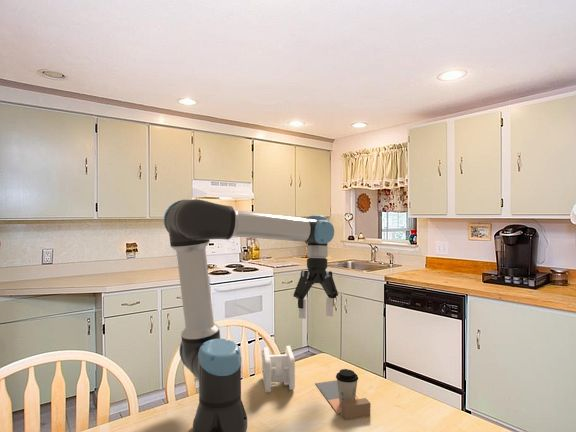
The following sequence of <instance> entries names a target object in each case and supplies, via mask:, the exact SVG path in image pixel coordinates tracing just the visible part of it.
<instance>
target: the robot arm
mask: <svg viewBox="0 0 576 432" xmlns="http://www.w3.org/2000/svg"><path fill="white" fill-rule="evenodd" d="M163 225H164V228H165V230H166V231H167V233H168V235H169V244H170V248H172V249H173V250H174V251H175V252H176V258H177V267H178V268H177V269H178V274H179V275H178V276H179V283H180V293H181V300H182V310H183V316H184V318H183V319H184V326H185V327H184V328H183V330H182V331H181V333H180V335H181V336H180V337H181V341H180V344H179V357H180V359H181V360H180V361H181V363H182V364H183V365H184V367H186V369H187V370H189V371H190V372H191V374H192V375H193V376H194V377H195V378H196V379H197V381H198V405H197V409H196V412H195V415H194V419H193V422H192V432H246V431H247V428H248V416H247V412H246V409H245V406H244V404H243V401H242V355H241V354H242V353H241V348H240V346H239V345H238V344H237V343H236V342H235V341H233V340H230V339H225V338H221V333H220V332H221V331H220V325H218V324H217V323H215V322H214V316H213V315H214V313H213V307H212V306H213V305H212V296H211V286H210V279H209V278H210V276H209V269H208V267H209V266H208V261H207V251H206V248H207V246H208V245H209V244H210V241H211V240H228V241H229V240H231V239H233V238H234V237H237V238H250V239H263V240H276V241H291V242H304V243H306V244H307V245H306V246H307V251H306V253H307V254H306V257H308V258H307V259H306V268H307V270H300V277H299V280H298V282H297V284H296V288H295V289H294V293H293V297H294V298H296V299H297V309H298V319H299V318H300V319H306V318H307V317H306V316H307V315H306V314H307V313H306V312H307V309H306V308H307V299H306V297H307V294H308V292H309V291H310V290H311V288H312V286H313V285H315V284H319V285H321V287H322V288H323V290H324V293H325V294H326V295H327V297H326V299H325V300H326V303H325V304H326V305H325V306H326V307H325V308H326V310H325V311H326V312H325V316H327V317H333V316H334V306H335V305H334V304H335V299H336V298H337V297H338V296H339V292H338V289H337V286H336V283H335V281H334V280H335V279H334V278H333V277H334V276H333V271H330V270H327V269H328V251H329V249H328V248H329V247H328V244H329V243H330V242H331V241H332V240H333V239H334V236H335V227H334V225H333V224H332V223H331V222H330V221H328V218H327V217H326V216H324V215H309V216H308V217H307V218H304V217H295V216H285V215H280V214H279V215H278V214H269V213H262V212H253V211H244V210H238V209H237V210H236V208H235V207H234V206H232V205H225V204H219V203H215V202H211V201H209V200H203V199H197V198H196V199H182V200H181V199H180V200H177V201H175V202H173V203H172V204H171V205H169V206H168V207H167V209H166V210H165V213H164V216H163Z"/></svg>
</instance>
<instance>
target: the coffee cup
mask: <svg viewBox="0 0 576 432" xmlns="http://www.w3.org/2000/svg"><path fill="white" fill-rule="evenodd" d="M335 378H336V380H337V385H338V393H339V402H340V405H341V402H342V401H349V400H355V396H357V386H358V380H359V377H358V375H357V373H355V371H354V370H352V369H347V368H344V369H343V368H342V369H340V370H339V372H338V373H336V375H335Z"/></svg>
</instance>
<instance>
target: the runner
mask: <svg viewBox="0 0 576 432" xmlns="http://www.w3.org/2000/svg"><path fill="white" fill-rule="evenodd" d="M315 385H316V387H317V388H318V390H319V391H320V392H321V393H322V395H323V396H324V398H325V399H326V400H327V402H328V404H329V405H330V406H331V408H332V409H333V410H334V411H335V413H336V414H337V415H341V416H342V418H343V419H344V421H349V420H355V419H362V418H369V417H371V402H370V401H369V400H368V399H367V397H364V398H363V397H362V398H359V397H358V396H357V395H356V396H355V400H349V401H342V402H341V405H340V402H339V393H338V385H337V379H336V380H330V381H329V380H328V381H323V382H315Z"/></svg>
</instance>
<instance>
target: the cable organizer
mask: <svg viewBox="0 0 576 432" xmlns="http://www.w3.org/2000/svg"><path fill="white" fill-rule="evenodd" d="M261 356H262V357H261V359H262V378H263V387H264V392H265V393H271V392H272V386H275V388H276V387H277V384H276V383H280V382H281V383H283V386H284V387H285V385H286V386H287V385H288V389H289V390H290V391H294V390H295V388H296V385H295V384H296V374H295V373H296V365H295V364H296V361H295V356H294V353H293V351H292V348H291V345H285V351H284V353H283V354H270V350H269V347H268V346H265V347H263V348H262V349H261Z"/></svg>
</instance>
